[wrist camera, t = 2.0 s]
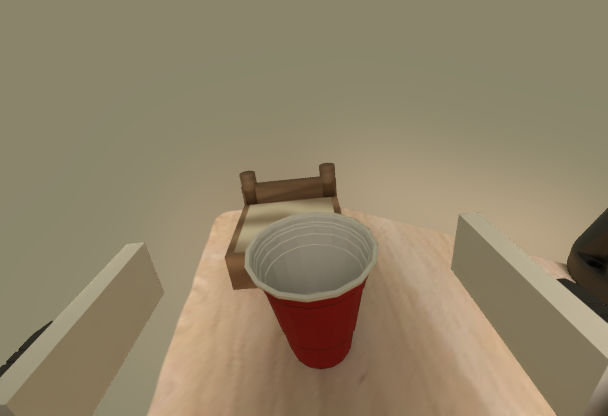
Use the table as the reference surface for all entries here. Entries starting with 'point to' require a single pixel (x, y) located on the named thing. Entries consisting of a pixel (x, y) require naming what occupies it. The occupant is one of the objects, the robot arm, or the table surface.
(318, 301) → the plastic cup
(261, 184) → the walnut stand
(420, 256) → the table surface
